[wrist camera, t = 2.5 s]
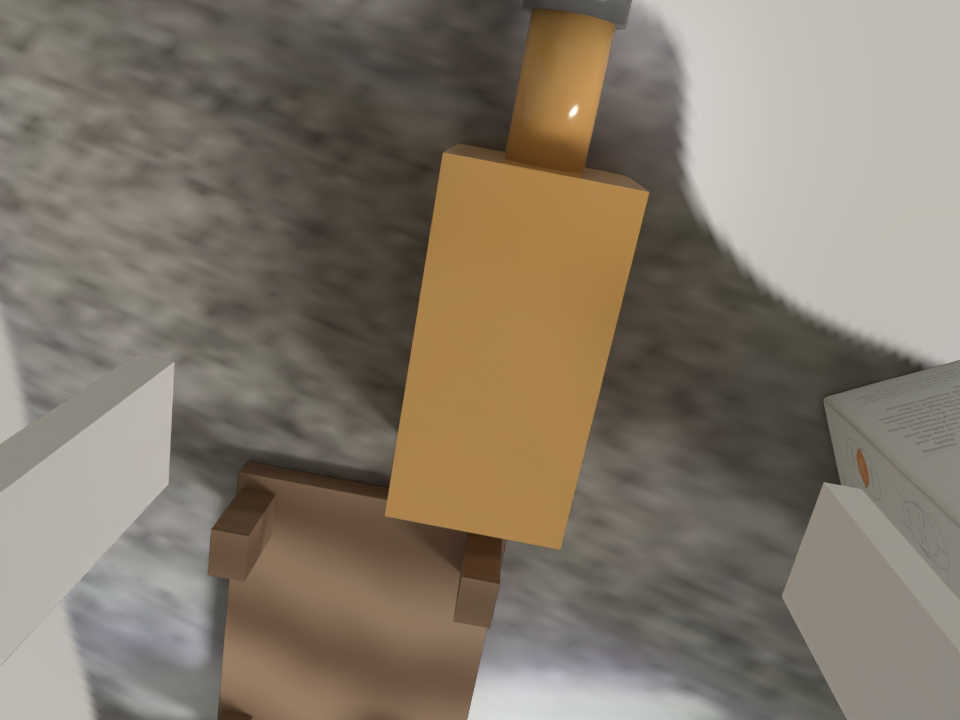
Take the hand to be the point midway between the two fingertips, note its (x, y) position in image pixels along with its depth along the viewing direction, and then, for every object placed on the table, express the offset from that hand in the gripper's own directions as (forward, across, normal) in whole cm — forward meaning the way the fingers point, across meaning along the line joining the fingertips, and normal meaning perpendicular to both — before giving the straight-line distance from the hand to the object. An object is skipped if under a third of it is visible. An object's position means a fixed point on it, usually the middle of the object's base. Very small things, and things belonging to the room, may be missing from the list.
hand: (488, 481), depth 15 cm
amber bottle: (+15, 0, -2) cm, 15 cm away
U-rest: (+14, +4, +16) cm, 22 cm away
